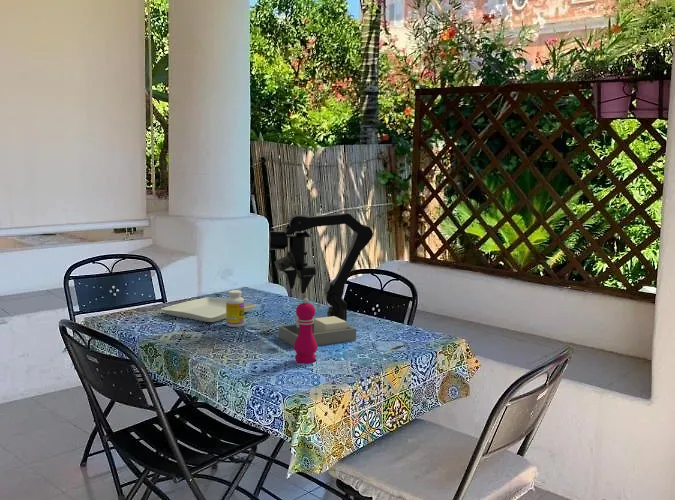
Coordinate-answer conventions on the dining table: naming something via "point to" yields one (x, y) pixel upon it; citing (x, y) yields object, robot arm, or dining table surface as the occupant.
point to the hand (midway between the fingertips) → (297, 290)
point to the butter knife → (395, 348)
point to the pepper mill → (305, 334)
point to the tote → (318, 335)
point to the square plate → (203, 309)
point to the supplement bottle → (235, 309)
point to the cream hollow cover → (329, 324)
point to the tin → (297, 325)
